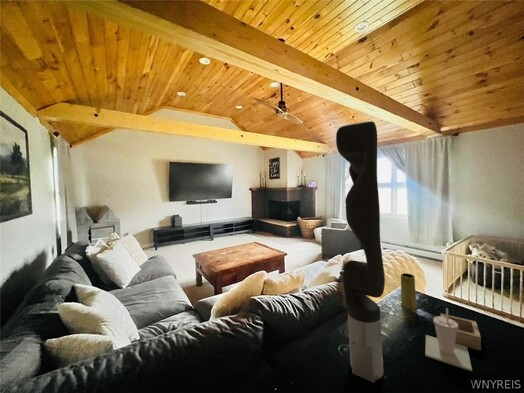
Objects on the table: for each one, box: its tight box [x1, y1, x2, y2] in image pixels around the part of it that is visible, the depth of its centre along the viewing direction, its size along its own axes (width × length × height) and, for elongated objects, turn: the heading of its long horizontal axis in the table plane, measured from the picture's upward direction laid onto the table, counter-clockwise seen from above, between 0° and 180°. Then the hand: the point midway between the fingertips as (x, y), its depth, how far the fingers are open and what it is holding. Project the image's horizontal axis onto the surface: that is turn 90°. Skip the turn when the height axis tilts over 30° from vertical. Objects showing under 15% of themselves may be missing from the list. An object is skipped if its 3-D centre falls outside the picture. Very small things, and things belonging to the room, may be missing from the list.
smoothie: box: [432, 308, 459, 355], centre depth 72 cm, size 6×6×14 cm
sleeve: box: [439, 312, 482, 351], centre depth 79 cm, size 10×10×4 cm
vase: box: [400, 272, 418, 311], centre depth 100 cm, size 6×6×14 cm
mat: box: [424, 334, 473, 372], centre depth 72 cm, size 11×11×1 cm
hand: (366, 246), depth 94 cm, fingers open, 8 cm apart
